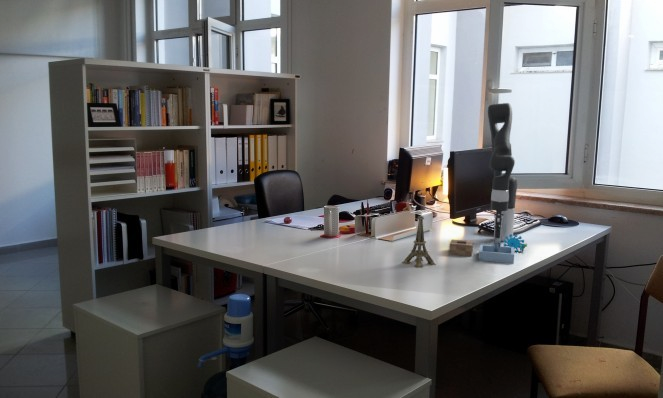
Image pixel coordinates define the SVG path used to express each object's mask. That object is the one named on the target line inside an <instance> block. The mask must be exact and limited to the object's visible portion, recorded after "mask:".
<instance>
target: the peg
mask: <svg viewBox="0 0 663 398" xmlns="http://www.w3.org/2000/svg"><path fill="white" fill-rule="evenodd" d="M496 226H497V227H500V225H496ZM501 227H502V226H501ZM493 231H494V232H493V251H494V252H500V246H501V242H502V241H501V230H500V238H495V227H494V230H493Z"/></svg>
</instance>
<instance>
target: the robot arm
mask: <svg viewBox="0 0 663 398" xmlns="http://www.w3.org/2000/svg"><path fill="white" fill-rule="evenodd" d="M487 118H488V119H487V120H488V124H489V129H490V130H489V131H490V138H491V152H492V153H491V154H492V155H491V157H490V160H489V168H490V169H491V170H492V171H493V172H494V173H493V176H494V177H493V178H492V188H491V190H492V191H491V194H490V195H491V196H490V209H491V211H495V213H494V214H493V217H494V221H493V222H494V223H493V224H494V228H495V238H500V230H501V242H503V240H504V239H505V240H506V241H508V240H507V239H506V238H505V237H506V236H508V239H510V234H512V237H511V238H513V237H514V228H515V227H514V226H515V211H516V210H515V209H516V199H517V189H518V179H517V178H516V177H513V176H512V172H513V170H514V167H515V164H516V163H515V162H516V161H515V158H514V157H513V156H512V155H513V153H512V152H513V151H512V144H511V141H510V140H511V129H512V123H513V108H512V105H511V104H510V103H509V102H504V103H496V104H495V103H494V104H490V105H488V108H487ZM498 124H503V125H502V126H501V127H500V129H499V127H498ZM503 172H504V174H503ZM496 225H500V227H497V226H496ZM501 226H502V227H501Z"/></svg>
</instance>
